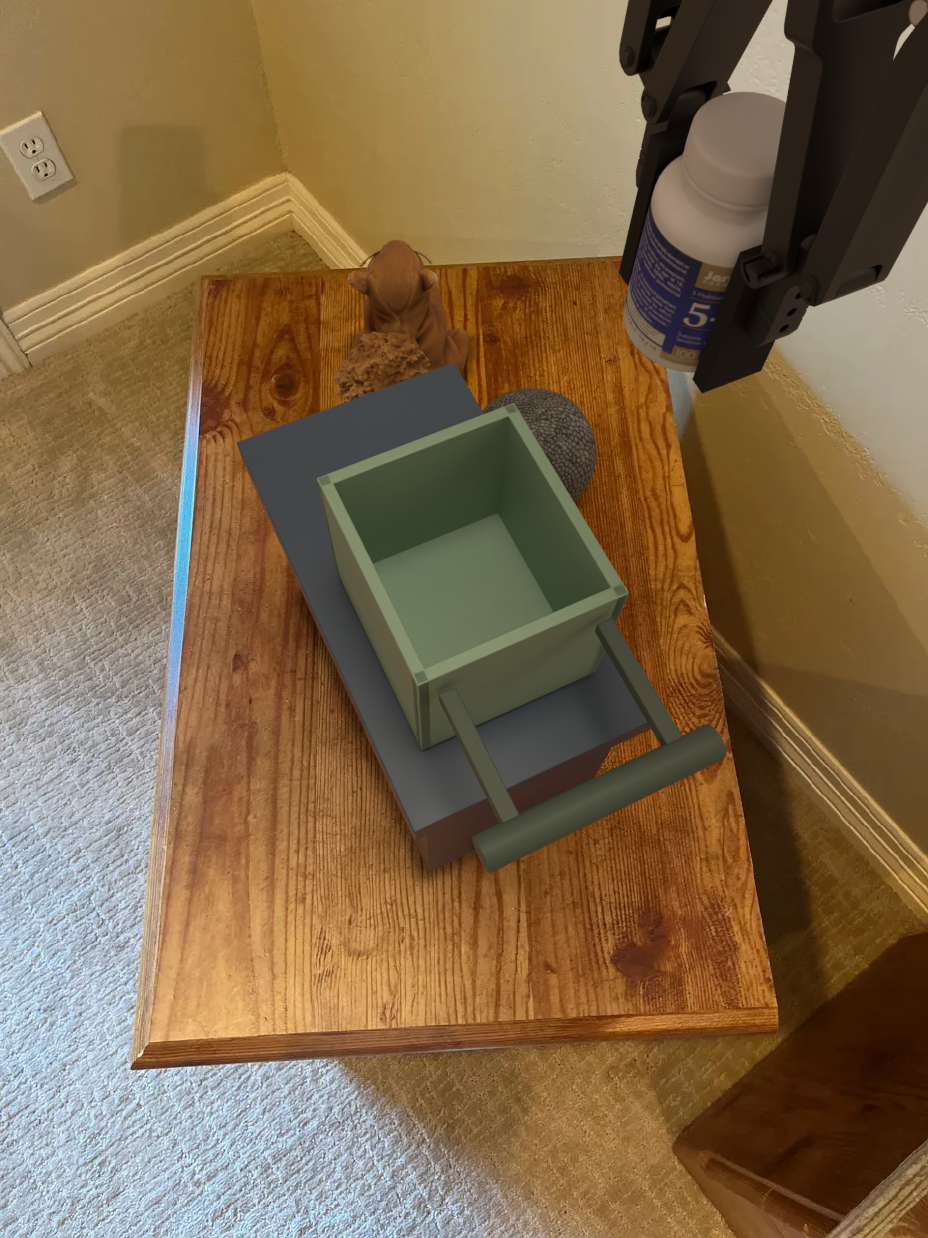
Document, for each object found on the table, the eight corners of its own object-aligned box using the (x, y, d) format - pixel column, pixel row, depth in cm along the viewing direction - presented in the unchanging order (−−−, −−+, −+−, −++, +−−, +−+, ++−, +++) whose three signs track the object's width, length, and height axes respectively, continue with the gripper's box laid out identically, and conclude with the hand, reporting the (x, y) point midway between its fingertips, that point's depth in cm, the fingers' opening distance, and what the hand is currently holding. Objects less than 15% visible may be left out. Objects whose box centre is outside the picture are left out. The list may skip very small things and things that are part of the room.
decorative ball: (594, 538, 76) (616, 469, 67) (470, 547, 75) (474, 478, 66) (577, 434, 80) (595, 355, 71) (459, 442, 79) (461, 363, 70)
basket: (681, 802, 47) (736, 747, 38) (480, 901, 45) (490, 867, 36) (509, 502, 53) (523, 398, 45) (328, 576, 51) (305, 481, 43)
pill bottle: (669, 396, 37) (733, 213, 29) (596, 304, 39) (638, 108, 31) (778, 345, 38) (869, 155, 30) (702, 258, 40) (769, 57, 32)
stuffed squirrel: (470, 333, 84) (475, 214, 72) (453, 467, 78) (455, 362, 66) (359, 322, 84) (345, 202, 72) (333, 455, 79) (314, 348, 66)
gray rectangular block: (601, 805, 67) (662, 716, 49) (421, 893, 64) (413, 833, 46) (450, 525, 76) (454, 361, 58) (286, 591, 73) (236, 441, 55)
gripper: (573, -720, 20) (505, 196, 41) (1192, -301, 13) (727, 535, 34) (871, -756, 21) (656, 147, 42) (1566, -394, 14) (897, 463, 36)
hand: (688, 319), depth 38 cm, fingers closed on pill bottle, 5 cm apart
